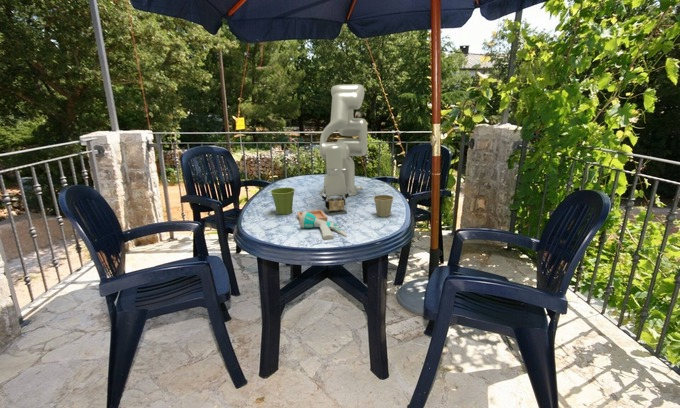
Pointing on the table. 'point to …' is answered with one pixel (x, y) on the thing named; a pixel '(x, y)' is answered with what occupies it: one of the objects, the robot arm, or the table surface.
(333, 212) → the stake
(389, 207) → the flower pot
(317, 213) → the terracotta tray
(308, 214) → the garden hose nozzle
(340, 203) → the wooden ring
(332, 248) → the table surface
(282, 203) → the plant pot
